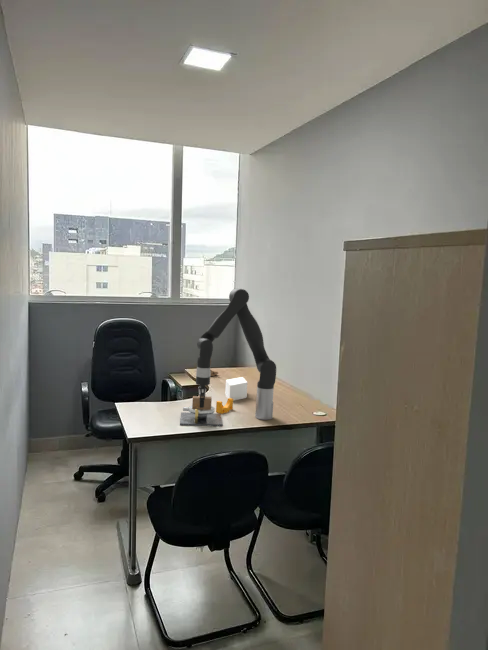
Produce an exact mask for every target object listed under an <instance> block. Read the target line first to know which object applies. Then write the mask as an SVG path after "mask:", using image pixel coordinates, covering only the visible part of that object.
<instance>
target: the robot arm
mask: <svg viewBox="0 0 488 650" xmlns="http://www.w3.org/2000/svg"><path fill="white" fill-rule="evenodd" d="M229 292H230V293H229V295H228V296H229V297H228V298H229V303H228V305H227V307H226V308H225V309H224V310H223V311H222V312H221V313H220V314H219V315H218V316H217V317H216V318H215V319H214V320H213V321H212V323H211V325H210V326H209V328H208V329H207V330H206V331H205V332H204V333H203V334H202V335H201V336H200V337H199V339H198V340H197V342H196V347H197V349H198V350H199V356H198V357H197V363H196V364H197V365H196V371H195V372H196V373H195V385H197V386H198V396H199V397H200V408H203V407H204V400H205V396H206V393H207V387H206V386H210V384H211V376H210V370H211V366H210V363H211V364H212V357H213V356H212V355H213V350H214V344H213V342H214V341H215V339H218V338H219V337H220V336H221V334H222V333H223V332H224V331H225V329H226V328H227V326H228V325H229V323H230V322H231V321H232V320H233V318H234V317H235V316H237V318H238V321H239V324H240V327H241V329H242V332H243V335H244V337H245V340H246V342H247V345H248V346H249V348H250V351H251V353H252V355H253V356H252V357H253V358H254V361H255V366H256V369H257V371H258V372H259V380H258V381H257V383H256V384H257V385H256V398H255V400H256V401H255V416H254V417H255V418H256V419H258V420H266V421H267V420H273V416H274V415H273V413H274V401H273V400H274V389H275V388H274V387H275V383H276V377H277V364H276V362H275V361H273V360H272V359H270V357H269V356H268V353H267V351H266V349H265V344H264V336H263V333H262V330H261V328H260V325H259V324H258V321H257V320H256V318H255V316H254V315H253V314H252V313H251V311H250V309H249V307H248V302H249V299H250V295H249V292H248V290H246V289H244V288H243V289H242V288H234V289H232V290H231V291H229ZM201 397H204V398H201ZM206 397H207V396H206Z"/></svg>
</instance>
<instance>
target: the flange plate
mask: <svg viewBox="0 0 488 650" xmlns="http://www.w3.org/2000/svg"><path fill="white" fill-rule="evenodd" d="M201 398H204V397H201ZM191 404H192V405H190V406H189V407H188V406H187V407H185V406H184V407H182V411H183V412H188V413H193V414H195V409H198V415H207V414H212V413H216V407H214V406H212V396H205V400H204V407H203V408H200V397H199V395H198V396H197V395H193V396H192V403H191Z"/></svg>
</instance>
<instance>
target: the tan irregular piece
mask: <svg viewBox="0 0 488 650" xmlns="http://www.w3.org/2000/svg"><path fill="white" fill-rule="evenodd" d="M211 365H212V362H211V363H210V367H211ZM218 374H219V372H218V371H215V370H212V369H210V377H214V376H217V375H218Z"/></svg>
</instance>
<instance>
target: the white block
mask: <svg viewBox="0 0 488 650" xmlns="http://www.w3.org/2000/svg"><path fill="white" fill-rule="evenodd" d="M247 394H248V381H247V380H246V378H245V377H243V376H241V377H233V378H229V379H225V394H224V396H225V397H226V398H227V400H228V398H232V399H233V402H234V401H238V400H242V399H243V400H244V399H246V398H248V397H247V396H248V395H247Z"/></svg>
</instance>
